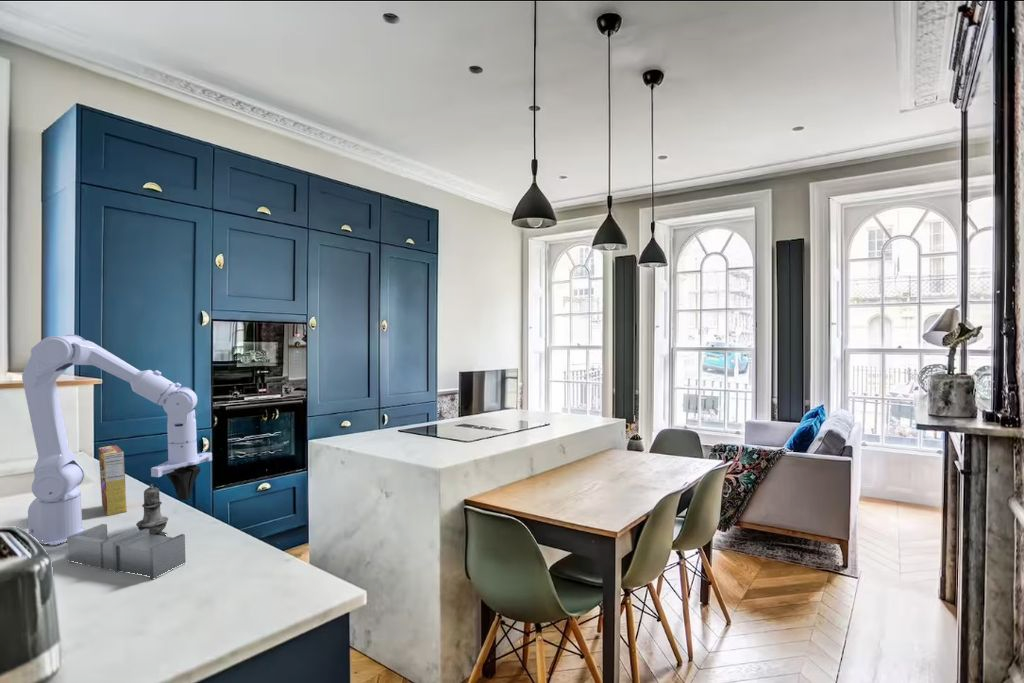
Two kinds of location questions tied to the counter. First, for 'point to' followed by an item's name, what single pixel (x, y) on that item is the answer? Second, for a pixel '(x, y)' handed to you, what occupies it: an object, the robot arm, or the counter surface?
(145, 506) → the grey tapered rounded piece
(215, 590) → the counter surface
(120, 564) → the grey divided tray
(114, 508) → the candy box
